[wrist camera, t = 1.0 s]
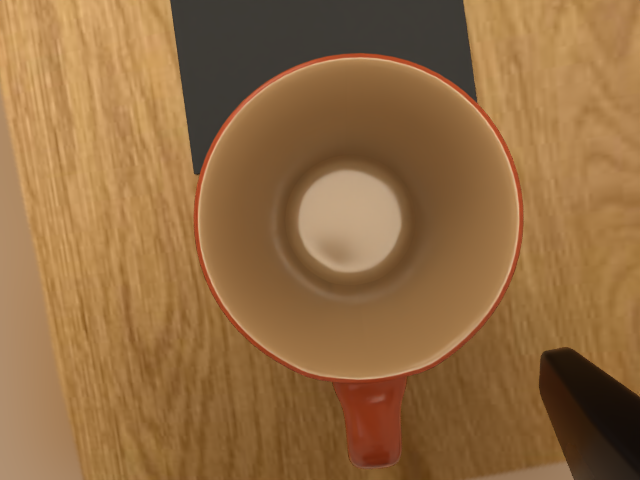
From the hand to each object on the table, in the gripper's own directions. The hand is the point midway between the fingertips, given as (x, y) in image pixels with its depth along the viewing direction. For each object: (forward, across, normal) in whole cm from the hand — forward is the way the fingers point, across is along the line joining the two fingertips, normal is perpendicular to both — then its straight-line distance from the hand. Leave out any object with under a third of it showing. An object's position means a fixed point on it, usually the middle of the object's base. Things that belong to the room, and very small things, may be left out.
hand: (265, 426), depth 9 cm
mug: (+14, -2, +8) cm, 17 cm away
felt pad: (+20, -3, 0) cm, 20 cm away
